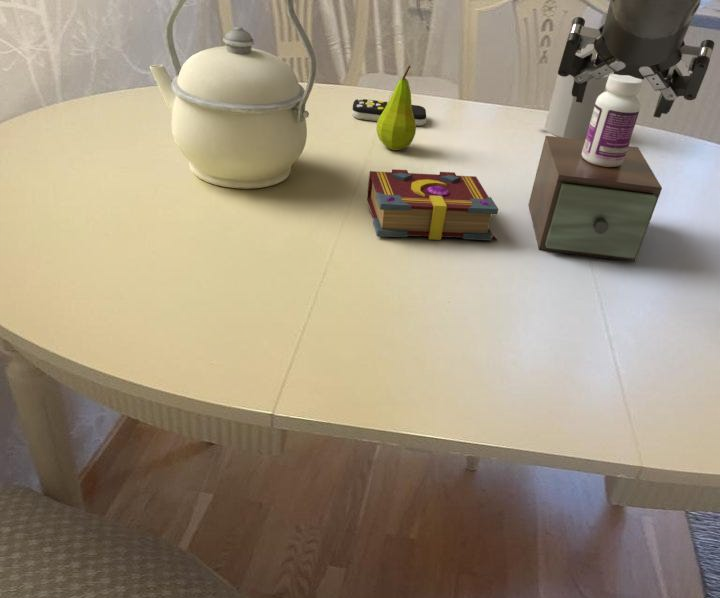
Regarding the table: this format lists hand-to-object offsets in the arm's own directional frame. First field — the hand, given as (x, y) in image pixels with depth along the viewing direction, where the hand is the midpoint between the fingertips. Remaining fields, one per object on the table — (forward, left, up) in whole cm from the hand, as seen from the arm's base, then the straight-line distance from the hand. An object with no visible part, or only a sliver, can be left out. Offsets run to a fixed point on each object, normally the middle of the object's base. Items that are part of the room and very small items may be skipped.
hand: (619, 102), depth 83 cm
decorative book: (+19, +4, -19) cm, 27 cm away
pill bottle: (+3, -9, -9) cm, 13 cm away
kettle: (+49, +10, -19) cm, 53 cm away
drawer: (+2, -7, -18) cm, 19 cm away
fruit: (+38, -16, -19) cm, 45 cm away
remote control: (+47, -28, -19) cm, 58 cm away
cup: (+22, -49, -19) cm, 57 cm away
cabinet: (+3, -9, -19) cm, 21 cm away
